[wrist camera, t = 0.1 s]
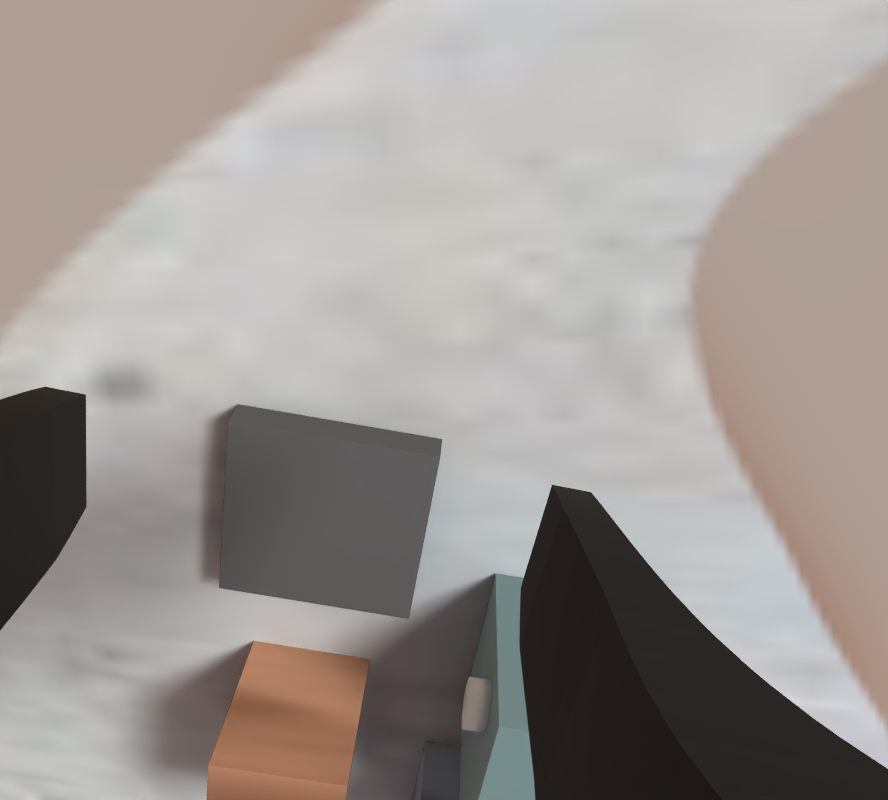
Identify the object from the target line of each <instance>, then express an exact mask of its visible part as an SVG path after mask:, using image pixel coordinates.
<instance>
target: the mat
mask: <svg viewBox="0 0 888 800" xmlns="http://www.w3.org/2000/svg"><path fill="white" fill-rule="evenodd" d="M441 444H442V439H437V438H431V437H425V436H419V435H414V434H408V433H402V432H396V431H390V430H384V429H378V428H373V427H367V426H361V425H355V424H349V423H343V422H338V421H332V420H326V419H320V418H314V417H308V416H302V415H297V414H291V413H285V412H279V411H273V410H267V409H262V408H256V407H250V406H244V405H238V406H237V407H236V409H235V411H234V412H233V414H232V415H231V417H230V418H229V420H228V434H227V453H226V471H225V489H224V508H223V526H222V544H221V563H220V581H219V588H223V589H229V590H235V591H242V592H248V593H254V594H260V595H266V596H272V597H278V598H285V599H291V600H297V601H303V602H309V603H315V604H321V605H327V606H334V607H340V608H346V609H352V610H358V611H364V612H370V613H377V614H383V615H389V616H395V617H401V618H407V619H409V614H410V609H411V604H412V599H413V594H414V589H415V584H416V578H417V573H418V568H419V563H420V558H421V553H422V548H423V543H424V537H425V532H426V527H427V522H428V517H429V512H430V507H431V501H432V496H433V491H434V486H435V481H436V476H437V471H438V465H439V460H440V454H441Z"/></svg>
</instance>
